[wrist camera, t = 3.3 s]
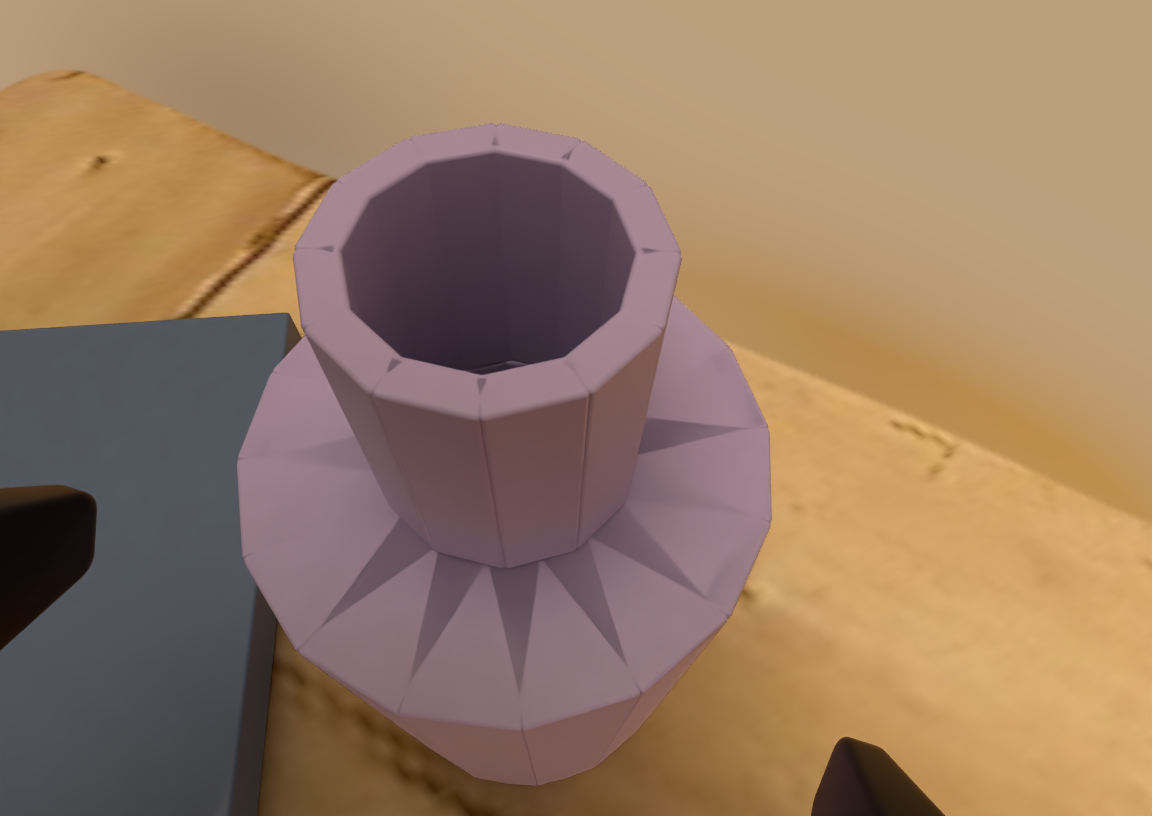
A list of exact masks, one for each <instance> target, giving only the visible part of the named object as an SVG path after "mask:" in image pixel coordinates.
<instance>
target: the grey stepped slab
mask: <svg viewBox="0 0 1152 816" xmlns="http://www.w3.org/2000/svg"><path fill="white" fill-rule="evenodd" d="M301 339H302V338H301V336H300V334H299V332H298V330H297V328H296V326H295V324H294V322H293V320H292V318H291V316H290V314H289V313H273V314H258V315H242V316H226V317H210V318H195V319H179V320H163V321H148V322H132V323H116V324H100V325H85V326H69V327H53V328H37V329H22V330H6V331H0V488H11V487H26V486H40V485H65V486H68V487H71V488H74V489H78V490H81V491H84V492H87V493H89V494H91V495H92V496H93V497H94V499H95V501H96V504H97V521H96V538H95V554H94V559H93V562H92V564H91V566H90V568H89V570H88V571H87V572H86V574H85V575H84V576H83V577H82V578H81V579H80V580H79V581H78V582H76V583H75V584H74V585H73V586H72V587H71V588H70V589H69V590H67V591H66V592H65V593H64V594H63V595H62V596H61V597H60V598H59V599H57V600H56V601H55V602H54V603H53V604H52V605H51V606H50V607H49V608H47V609H46V610H45V611H44V612H43V613H42V614H41V615H40V616H39V617H37V618H36V619H35V620H34V621H33V622H32V623H31V624H30V625H29V626H27V627H26V628H25V629H24V630H23V631H22V632H21V633H20V634H18V635H17V636H16V637H15V638H14V639H13V640H12V641H11V642H10V643H8V644H7V645H6V646H5V647H4V648H3V649H2V650H1V651H0V816H257V812H258V802H259V792H260V782H261V772H262V762H263V752H264V743H265V733H266V723H267V713H268V703H269V693H270V683H271V674H272V664H273V654H274V644H275V634H276V624H277V618H276V616H275V615H274V613H273V611H272V610H271V608H270V606H269V604H268V603H267V601H266V599H265V598H264V596H263V594H262V592H261V591H260V589H259V587H258V586H257V584H256V582H255V581H254V579H253V577H252V575H251V574H250V572H249V570H248V569H247V567H246V565H245V564H244V558H243V556H242V544H241V527H240V510H239V493H238V476H237V461H239V460H238V455H239V453H240V450H241V448H242V445H243V443H244V440H245V437H246V435H247V432H248V430H249V427H250V425H251V422H252V420H253V417H254V415H255V412H256V409H257V407H258V404H259V402H260V399H261V397H262V394H263V392H264V389H265V387H266V384H267V381H268V379H269V376H270V374H271V373H273V370H274V368H275V367H276V366H277V365H278V364H279V363H280V362H281V361H282V360H283V359H284V358H285V356H286V355H287V354H288V353H289V352H290V351H291V350H292V349H293V348H294V347H295V346H296V345H297V344H298V343H299V342H300V340H301Z"/></svg>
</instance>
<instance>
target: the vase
mask: <svg viewBox="0 0 1152 816" xmlns="http://www.w3.org/2000/svg"><path fill="white" fill-rule="evenodd" d="M681 260H682V258H681V250H680V248H679V246H678V243H677V241H676V239H675V237H674V235H673V233H672V231H671V229H670V227H669V224H668V222H667V221H666V218H665V216H664V214H663V212H662V210H661V208H660V206H659V203H658V201H657V199H656V197H655V195H654V193H653V191H652V189H651V187H649V186H648V185H647V183H646V182H645V181H644V180H642V179H641V178H639V177H638V176H636V175H635V174H633V173H632V172H630V171H629V170H627V169H626V168H624V167H623V166H621V165H620V164H618V163H617V162H615V161H614V160H612V159H611V158H609V157H608V156H606V155H605V154H603V153H602V152H601V151H599V150H597V149H596V148H594V147H593V146H591V145H590V144H588V143H587V142H586V141H580V140H579V139H578V138H574V137H568V136H563V135H558V134H552V133H548V132H542V131H537V130H532V129H527V128H521V127H516V126H511V125H506V124H497V125H495V124H492V123H491V124H485V125H479V126H473V127H466V128H460V129H454V130H448V131H442V132H436V133H430V134H423V135H417V136H412V137H411V138H410V139H404V140H402V141H401V142H399V143H397V144H396V145H394V146H392V147H391V148H389V149H387V150H386V151H384V152H382V153H381V154H379V155H377V156H375V157H374V158H372V159H371V160H369V161H367V162H365V163H364V164H362V165H360V166H359V167H357V168H355V169H354V170H352V171H350V172H349V173H347V174H345V175H344V176H342V177H340V178H339V179H338V180H337V181H336V183H334V184H332V186H331V187H330V189H329V191H328V192H327V194H326V196H325V197H324V199H323V201H322V202H321V204H320V206H319V207H318V209H317V211H316V212H315V214H314V216H313V217H312V219H311V220H310V222H309V224H308V225H307V227H306V229H305V230H304V232H303V234H302V235H301V237H300V239H299V240H298V242H297V244H296V245H295V251H294V253H293V261H294V269H295V277H296V286H297V294H298V302H299V311H300V319H301V327H302V329H303V331H304V333H305V336H304V337H303V338H302V339H301V340H300V342H299V343H298V344H297V345H296V346H295V347H294V348H293V349H292V350H291V351H290V352H289V353H288V354H287V355H286V356H285V358H284V359H283V360H282V361H281V362H280V363H279V364H278V365H277V366H276V367H275V368H274V370H273V373H271V374H270V376H269V379H268V381H267V384H266V387H265V389H264V392H263V394H262V397H261V399H260V402H259V404H258V407H257V409H256V412H255V415H254V417H253V420H252V422H251V425H250V427H249V430H248V432H247V435H246V437H245V440H244V443H243V445H242V448H241V450H240V453H239V455H238V460H239V461H237V476H238V493H239V510H240V527H241V544H242V556H243V558H244V564H245V565H246V567H247V569H248V570H249V572H250V574H251V575H252V577H253V579H254V581H255V582H256V584H257V586H258V587H259V589H260V591H261V592H262V594H263V596H264V598H265V599H266V601H267V603H268V604H269V606H270V608H271V610H272V611H273V613H274V615H275V616H276V618H277V620H278V621H279V623H280V625H281V627H282V628H283V630H284V632H285V633H286V635H287V637H288V639H289V640H290V642H291V644H292V645H293V647H294V649H295V650H297V651H298V652H299V653H300V655H301V656H302V657H304V658H305V659H306V660H308V661H309V662H311V663H312V664H313V665H315V666H316V667H318V668H319V669H320V670H322V671H323V672H324V673H326V674H327V675H329V676H330V677H331V678H333V679H334V680H336V681H337V682H338V683H340V684H341V685H342V686H344V687H345V688H347V689H348V690H349V691H351V692H352V693H354V694H355V695H356V696H358V697H359V698H360V699H362V700H363V701H365V702H366V703H367V704H369V705H370V706H371V707H373V708H374V709H376V710H377V711H378V712H380V713H381V714H383V715H384V716H385V717H387V718H388V719H389V720H391V721H392V722H394V723H395V724H396V725H398V726H399V727H401V728H402V729H403V730H405V731H406V732H407V733H409V734H410V735H412V736H413V737H414V738H416V739H417V740H419V741H420V742H421V743H423V744H424V745H425V746H427V747H428V748H430V749H431V750H433V751H434V752H436V753H438V754H439V755H441V756H442V757H444V758H445V759H447V760H448V761H450V762H451V763H453V764H454V765H456V766H458V767H459V768H461V769H462V770H464V771H465V772H467V773H469V774H470V775H472V776H473V777H477V778H478V779H483V780H491V781H496V782H501V783H506V784H518V785H530V786H536V785H537V786H540V785H543V784H546V783H550V782H554V781H558V780H562V779H566V778H569V777H571V776H574V775H576V774H579V773H581V772H584V771H587V770H590V769H593V768H594V767H596V766H598V765H599V764H600V763H601V762H602V761H603V760H605V759H606V758H607V757H608V756H609V755H610V754H611V753H613V752H614V751H615V750H617V749H618V748H619V747H620V746H621V744H622V743H624V742H625V741H626V740H627V739H628V738H629V737H630V736H631V735H633V734H634V733H635V732H636V731H637V730H638V729H639V728H640V727H641V726H642V724H643V723H644V722H645V721H646V720H647V718H648V717H649V716H650V715H651V713H652V712H653V711H654V710H655V709H656V707H657V706H658V705H659V704H660V702H661V701H662V700H663V699H664V698H665V696H666V695H667V694H668V693H669V691H670V690H671V689H672V688H673V687H674V685H675V684H676V683H677V682H678V680H679V679H680V678H681V677H682V676H683V674H684V673H685V672H686V671H687V669H688V668H689V667H690V666H691V665H692V663H693V662H694V661H695V660H696V658H697V657H698V656H699V655H700V654H701V652H702V651H703V650H704V649H705V647H706V646H707V645H708V644H709V643H710V641H711V640H712V639H713V638H714V637H715V635H716V634H717V633H718V632H719V630H720V629H721V628H722V627H723V626H724V624H725V623H726V622H727V620H728V619H729V617H730V616H731V615H732V613H733V610H734V608H735V606H736V604H737V601H738V599H739V597H740V594H741V592H742V590H743V588H744V585H745V583H746V581H747V579H748V576H749V574H750V572H751V570H752V567H753V565H754V563H755V560H756V558H757V556H758V554H759V551H760V549H761V547H762V545H763V542H764V540H765V538H766V535H767V533H768V531H769V529H770V522H771V520H772V512H771V474H770V436H769V430H768V425H767V423H766V421H765V418H764V416H763V414H762V412H761V410H760V408H759V406H758V404H757V402H756V400H755V398H754V395H753V393H752V391H751V389H750V387H749V385H748V383H747V381H746V379H745V377H744V375H743V372H742V370H741V368H740V366H739V364H738V362H737V360H736V358H735V356H734V354H733V352H732V350H731V349H730V348H729V346H728V345H727V344H726V343H725V342H724V341H723V340H722V339H721V338H720V337H719V336H717V335H716V334H715V333H714V332H713V331H712V330H711V329H710V328H709V327H708V326H707V325H706V324H705V323H703V322H702V321H701V320H700V319H699V318H698V317H697V316H696V315H695V314H694V313H693V312H692V311H690V310H689V309H688V308H687V307H686V306H685V305H684V304H683V303H682V302H681V301H680V300H679V299H678V298H676V297H675V296H674V291H675V287H676V282H677V278H678V274H679V269H680V265H681Z"/></svg>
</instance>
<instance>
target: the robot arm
mask: <svg viewBox="0 0 1152 816" xmlns="http://www.w3.org/2000/svg"><path fill="white" fill-rule="evenodd" d="M96 521H97V504H96V501H95V499H94V497H93V496H92V495H91V494H89V493H87V492H84V491H81V490H78V489H74V488H71V487H68V486H65V485H40V486H26V487H11V488H0V651H1V650H2V649H3V648H4V647H5V646H6V645H7V644H8V643H10V642H11V641H12V640H13V639H14V638H15V637H16V636H17V635H18V634H20V633H21V632H22V631H23V630H24V629H25V628H26V627H27V626H29V625H30V624H31V623H32V622H33V621H34V620H35V619H36V618H37V617H39V616H40V615H41V614H42V613H43V612H44V611H45V610H46V609H47V608H49V607H50V606H51V605H52V604H53V603H54V602H55V601H56V600H57V599H59V598H60V597H61V596H62V595H63V594H64V593H65V592H66V591H67V590H69V589H70V588H71V587H72V586H73V585H74V584H75V583H76V582H78V581H79V580H80V579H81V578H82V577H83V576H84V575H85V574H86V572H87V571H88V570H89V568H90V566H91V564H92V562H93V559H94V554H95V538H96ZM811 816H945V815H944V814H943V813H942V812H941V811H940V810H939V809H938V808H937V806H936V805H935V804H934V803H933V802H932V801H931V800H930V799H929V798H928V797H927V796H926V795H925V794H924V793H923V792H922V790H921V789H920V788H919V787H918V786H917V785H916V784H915V783H914V782H913V781H912V780H911V779H910V778H909V777H908V775H907V774H906V773H905V772H904V771H903V770H902V769H901V768H900V767H899V766H898V765H897V764H896V763H895V762H894V760H893V759H892V758H891V757H890V756H889V755H888V754H887V753H886V752H885V751H884V750H883V749H881V748H880V747H878V746H875V745H872V744H869V743H866V742H862V741H859V740H856V739H853V738H850V737H844V738H842V739H840V740H839V741H838V742H837V744H836V745H835V747H834V750H833V752H832V755H831V757H830V760H829V762H828V765H827V767H826V770H825V772H824V775H823V777H822V780H821V782H820V785H819V788H818V790H817V793H816V795H815V798H814V802H813V807H812V813H811Z"/></svg>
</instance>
